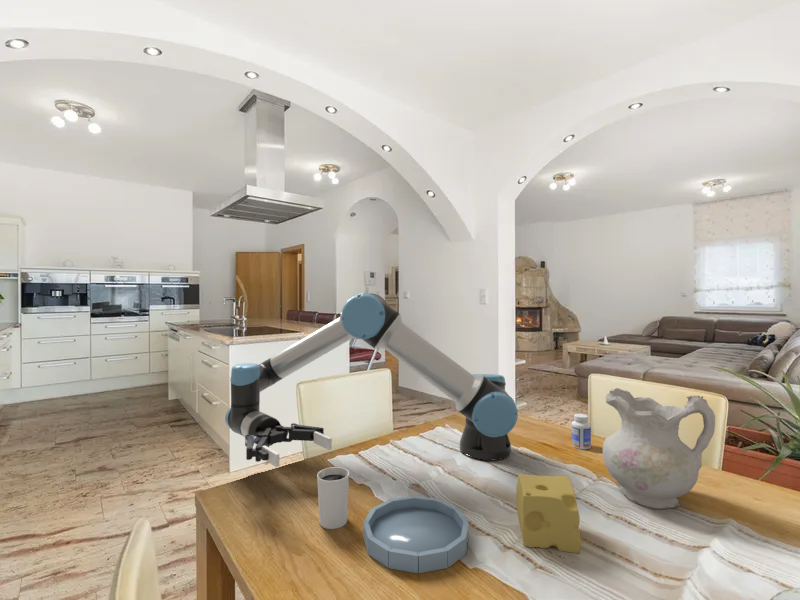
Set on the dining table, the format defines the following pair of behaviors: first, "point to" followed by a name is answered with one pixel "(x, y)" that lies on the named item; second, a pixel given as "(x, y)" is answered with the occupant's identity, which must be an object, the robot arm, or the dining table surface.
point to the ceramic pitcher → (654, 449)
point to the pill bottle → (581, 432)
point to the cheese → (548, 512)
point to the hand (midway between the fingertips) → (305, 451)
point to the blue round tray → (416, 534)
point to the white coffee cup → (333, 497)
